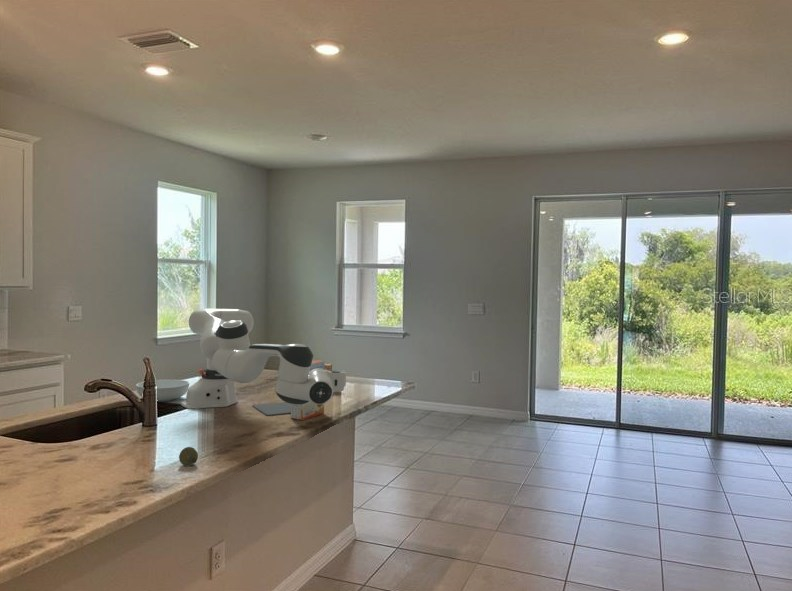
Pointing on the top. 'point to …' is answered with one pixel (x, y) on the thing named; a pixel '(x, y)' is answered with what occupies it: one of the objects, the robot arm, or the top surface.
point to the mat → (274, 408)
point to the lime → (188, 456)
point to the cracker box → (309, 408)
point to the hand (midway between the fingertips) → (316, 374)
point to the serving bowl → (167, 389)
